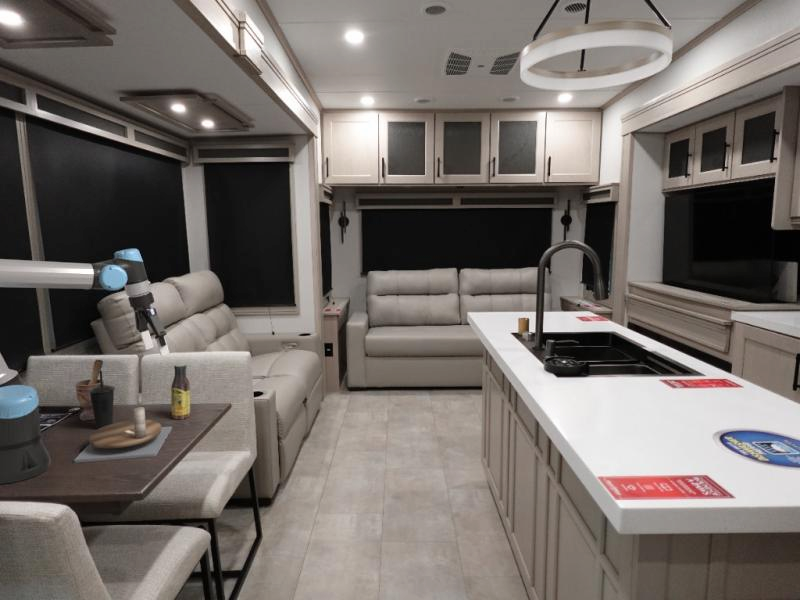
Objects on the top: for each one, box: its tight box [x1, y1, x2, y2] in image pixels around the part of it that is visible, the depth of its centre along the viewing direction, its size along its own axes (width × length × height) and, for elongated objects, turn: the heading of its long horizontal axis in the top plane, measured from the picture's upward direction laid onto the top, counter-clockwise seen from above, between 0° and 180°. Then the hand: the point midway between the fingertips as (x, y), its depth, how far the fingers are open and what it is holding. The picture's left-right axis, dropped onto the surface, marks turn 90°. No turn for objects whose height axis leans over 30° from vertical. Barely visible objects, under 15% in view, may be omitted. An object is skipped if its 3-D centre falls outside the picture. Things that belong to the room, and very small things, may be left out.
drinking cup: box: [89, 370, 116, 430], centre depth 172 cm, size 8×8×20 cm
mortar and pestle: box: [75, 359, 105, 422], centre depth 182 cm, size 12×9×20 cm
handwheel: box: [89, 406, 162, 448], centre depth 158 cm, size 20×20×12 cm
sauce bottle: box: [170, 362, 191, 420], centre depth 182 cm, size 6×6×20 cm
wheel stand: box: [73, 426, 173, 464], centre depth 159 cm, size 22×22×1 cm
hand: (157, 351), depth 176 cm, fingers open, 13 cm apart
